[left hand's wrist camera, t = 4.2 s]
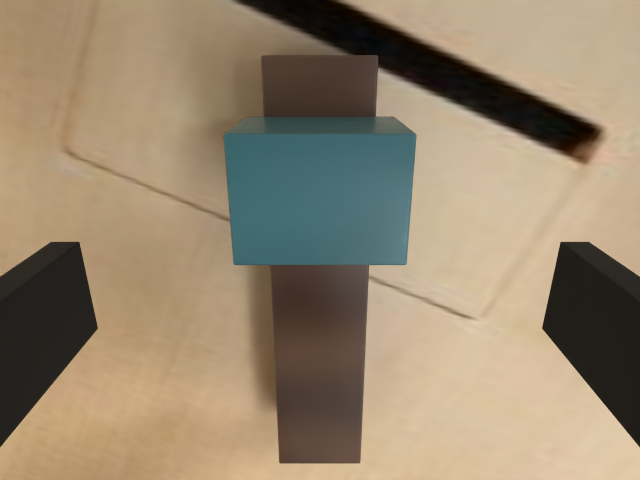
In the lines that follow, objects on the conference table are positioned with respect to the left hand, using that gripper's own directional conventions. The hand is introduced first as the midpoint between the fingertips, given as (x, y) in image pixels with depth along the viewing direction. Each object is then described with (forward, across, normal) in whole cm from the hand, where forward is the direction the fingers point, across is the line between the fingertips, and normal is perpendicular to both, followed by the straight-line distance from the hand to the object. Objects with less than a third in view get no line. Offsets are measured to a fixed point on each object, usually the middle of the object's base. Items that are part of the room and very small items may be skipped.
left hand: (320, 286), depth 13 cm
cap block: (+14, 0, 0) cm, 14 cm away
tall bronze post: (+19, 0, -8) cm, 20 cm away
